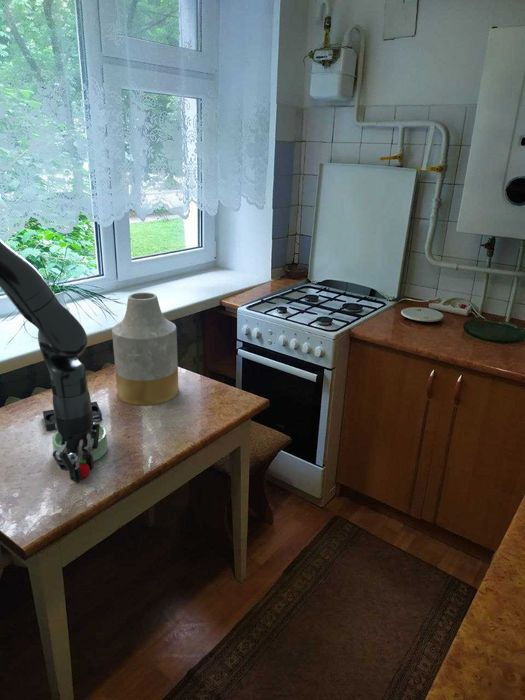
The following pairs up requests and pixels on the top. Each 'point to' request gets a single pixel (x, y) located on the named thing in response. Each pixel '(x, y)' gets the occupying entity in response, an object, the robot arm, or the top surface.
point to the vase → (145, 353)
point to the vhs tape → (51, 422)
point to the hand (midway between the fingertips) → (82, 474)
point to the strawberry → (84, 468)
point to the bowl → (101, 442)
